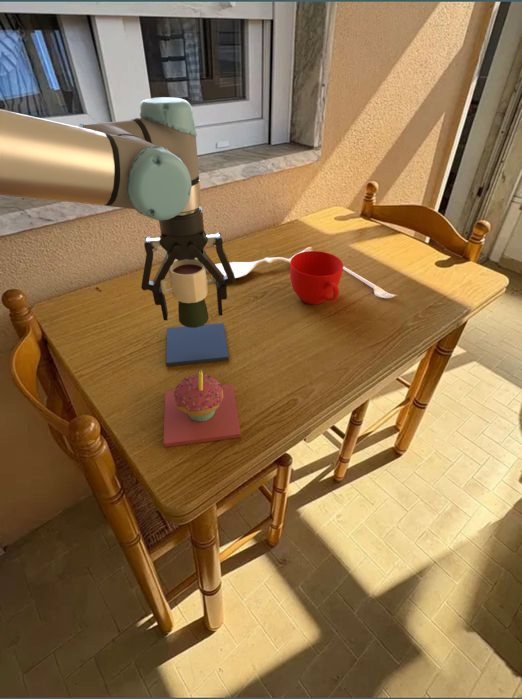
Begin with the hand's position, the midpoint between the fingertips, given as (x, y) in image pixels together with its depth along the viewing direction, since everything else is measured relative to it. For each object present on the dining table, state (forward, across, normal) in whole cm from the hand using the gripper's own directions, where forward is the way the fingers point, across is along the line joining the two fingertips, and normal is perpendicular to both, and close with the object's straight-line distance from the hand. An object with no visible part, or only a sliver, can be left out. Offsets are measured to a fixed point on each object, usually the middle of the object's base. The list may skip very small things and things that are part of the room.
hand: (193, 314), depth 79 cm
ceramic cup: (+9, -31, -13) cm, 35 cm away
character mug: (+2, 0, 0) cm, 2 cm away
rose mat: (+8, 0, +20) cm, 22 cm away
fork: (+9, -47, -19) cm, 51 cm away
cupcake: (+8, 0, +20) cm, 21 cm away
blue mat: (+8, 0, 0) cm, 8 cm away
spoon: (+9, -21, -31) cm, 38 cm away
